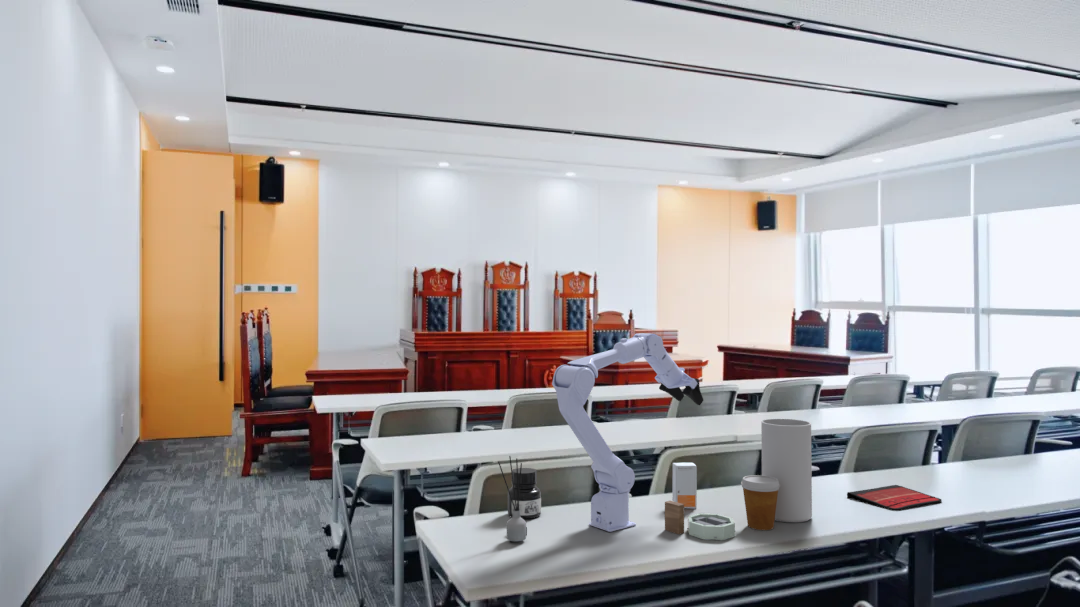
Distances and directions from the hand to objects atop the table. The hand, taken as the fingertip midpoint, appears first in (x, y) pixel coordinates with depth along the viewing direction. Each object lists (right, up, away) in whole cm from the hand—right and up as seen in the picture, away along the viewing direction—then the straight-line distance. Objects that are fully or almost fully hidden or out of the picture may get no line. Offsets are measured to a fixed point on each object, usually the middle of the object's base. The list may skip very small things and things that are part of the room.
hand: (691, 400), depth 196 cm
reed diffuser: (-49, -30, -28) cm, 63 cm away
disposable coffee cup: (+14, -30, -17) cm, 37 cm away
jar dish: (0, -30, -22) cm, 37 cm away
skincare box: (-1, -30, +1) cm, 30 cm away
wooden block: (-9, -30, -21) cm, 37 cm away
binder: (+61, -30, +8) cm, 68 cm away
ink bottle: (-46, -30, -6) cm, 55 cm away
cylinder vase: (+24, -30, -8) cm, 39 cm away
